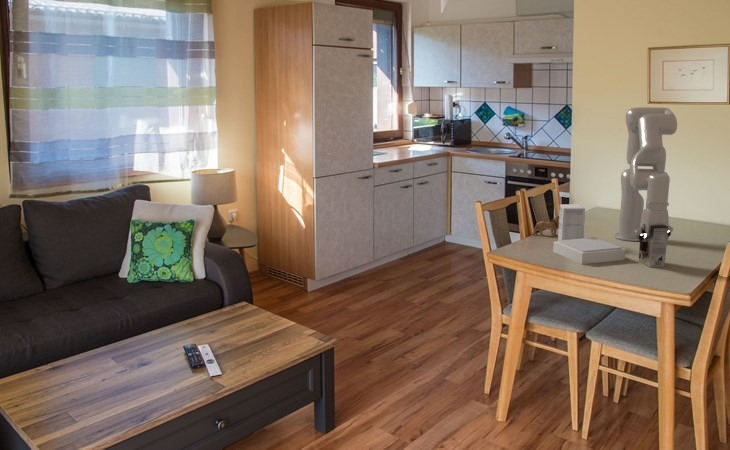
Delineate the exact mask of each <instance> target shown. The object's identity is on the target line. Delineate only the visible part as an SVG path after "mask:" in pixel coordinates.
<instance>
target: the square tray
mask: <svg viewBox="0 0 730 450" xmlns="http://www.w3.org/2000/svg"><path fill="white" fill-rule="evenodd" d="M552 248H553V249H552V250H553V251H552V253H555V254H557V255H559V256H562V257H563V258H566V259H568V260H571V261H573V262H576V263H577V264H581V265H587V264H597V263H606V262H618V261H625V260H626V248H623V247H622V246H619V245H616V244H614V243H611V242H608V241H606V240H602V239H601V238H600V239H599V238H597V237H594V236H593V237H584V238H581V239H570V240H559V241H558V240H556V241H553V247H552Z"/></svg>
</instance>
